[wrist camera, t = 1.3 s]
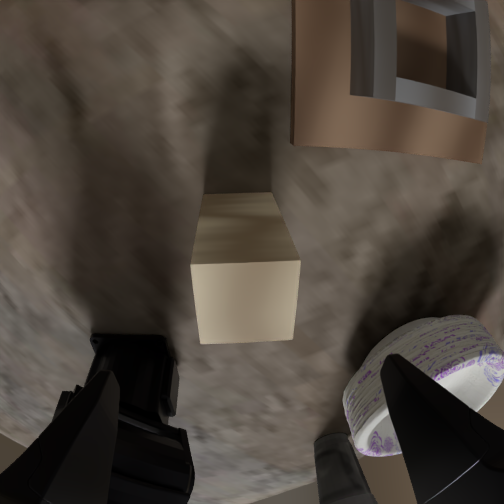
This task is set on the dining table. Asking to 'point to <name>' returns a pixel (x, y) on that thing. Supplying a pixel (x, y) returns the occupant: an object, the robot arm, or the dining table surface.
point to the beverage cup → (340, 472)
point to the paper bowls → (431, 363)
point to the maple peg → (244, 270)
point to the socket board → (392, 76)
